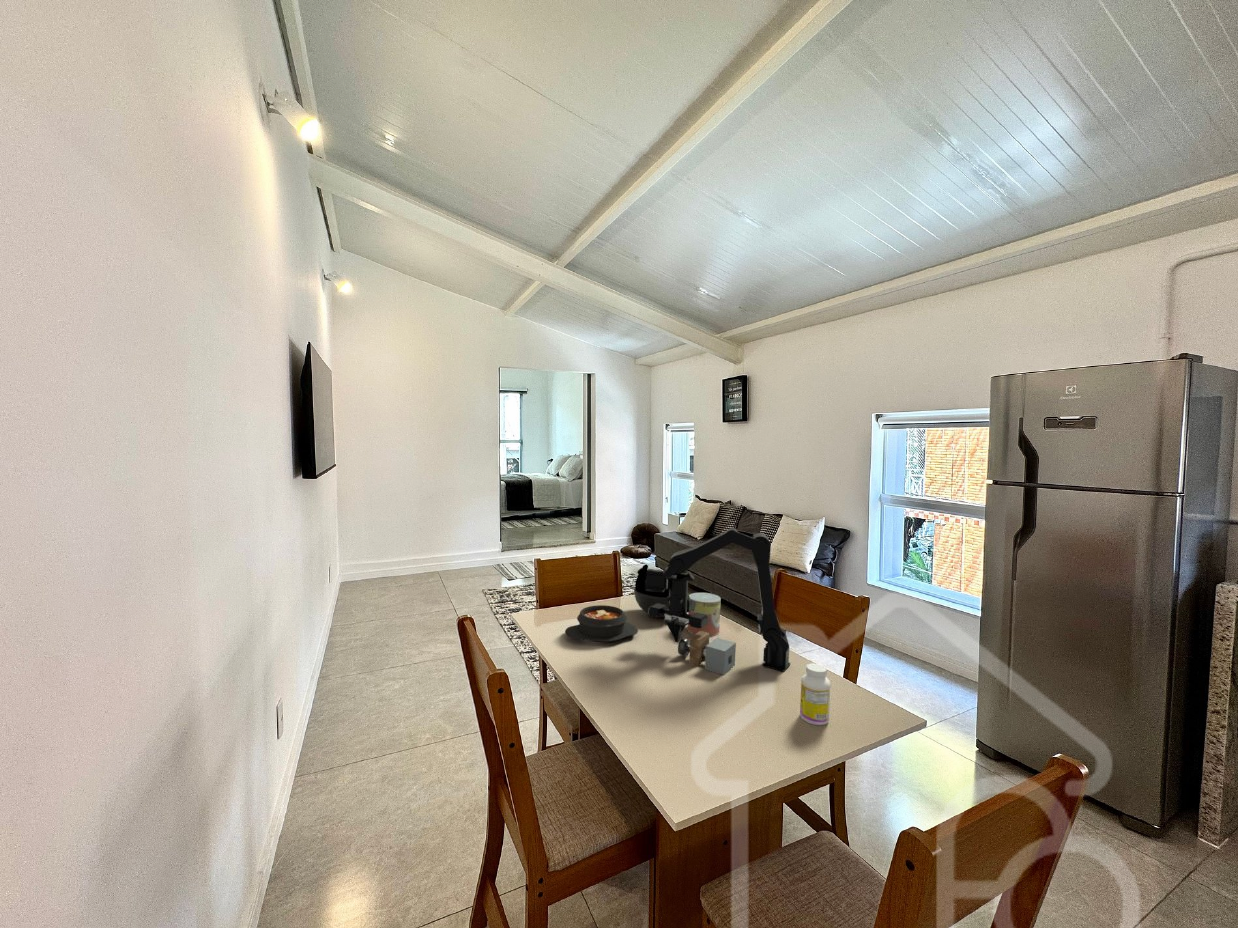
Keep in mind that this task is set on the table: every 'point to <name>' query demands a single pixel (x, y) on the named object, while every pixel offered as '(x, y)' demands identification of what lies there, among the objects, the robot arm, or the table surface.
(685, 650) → the shaft
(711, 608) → the canned food
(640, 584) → the bowl of black rocks
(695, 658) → the block
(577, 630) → the casserole
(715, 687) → the table surface
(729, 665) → the block
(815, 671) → the supplement bottle
